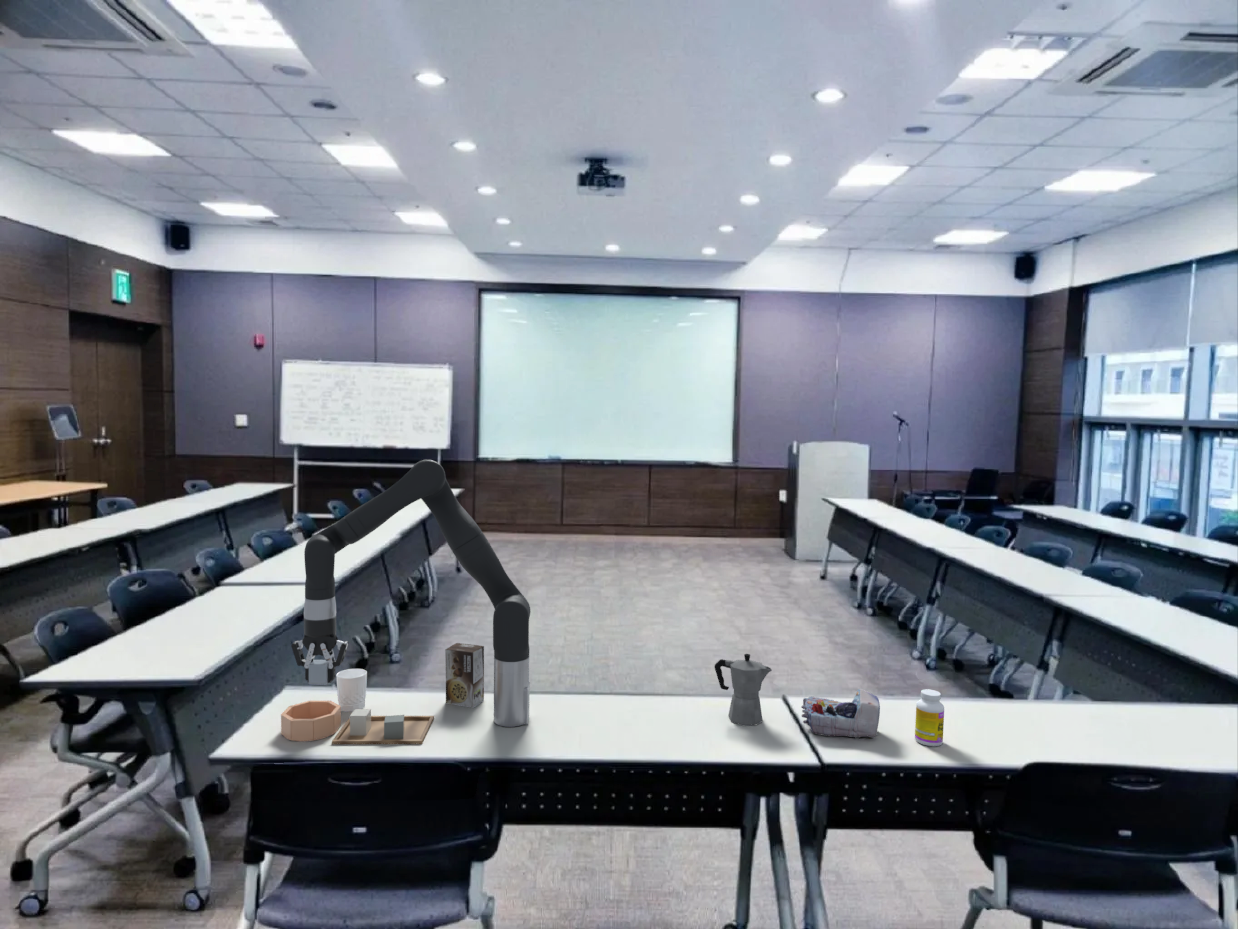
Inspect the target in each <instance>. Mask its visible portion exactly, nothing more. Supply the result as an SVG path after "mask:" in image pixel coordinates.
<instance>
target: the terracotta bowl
mask: <svg viewBox="0 0 1238 929" xmlns="http://www.w3.org/2000/svg"><path fill="white" fill-rule="evenodd" d="M341 726H342V711H341V706H340V705H339V703H337V702H336V703H335V701H332V700H307V701H303V702H300V703H295V704H292V705H289V706H288V707H287V708H286V709H285V710H284V711H282V712H281V714H280V732H281V733H280V734H281V735H282V736H283V737H284V738H285V739H286V740H289V741H291V742H311V741H318V740H322V739H325V738H328V737H331V736H333V735H335V734H336V732H339V730H340V729H339V728H340V727H341Z"/></svg>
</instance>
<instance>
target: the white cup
mask: <svg viewBox="0 0 1238 929" xmlns="http://www.w3.org/2000/svg"><path fill="white" fill-rule="evenodd" d="M335 679H336V690H337V693H336V694H337V704H338V705H340V706H341V712H346V713H352V712H353V711H354V710H355V709H365V707H366V698H367V697H366V696H367V681H368V680H367V679H368V671H367V670H365V669H363V668H348V669H344V670H343V669H342V670H340V671H338V672H337V673H335Z"/></svg>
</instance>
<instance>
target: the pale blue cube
mask: <svg viewBox="0 0 1238 929" xmlns="http://www.w3.org/2000/svg"><path fill="white" fill-rule="evenodd" d="M328 668H329V667H328V664H327V661H326V660H325V659H314V660H313V661H312V662H311V663H310V664H309V683H308V685H319V686H320V685H323V686H324V685H325V686H326V685H328V684H329V683H328Z"/></svg>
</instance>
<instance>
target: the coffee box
mask: <svg viewBox="0 0 1238 929" xmlns="http://www.w3.org/2000/svg"><path fill="white" fill-rule="evenodd" d="M444 652H445V655H444V656H445V704H448V705H453V706H454V705H455V706H460V707H461V706H462V707H468V708H475V707H477V706H478V705H480V704H481V703H483V702H484V701H485V646H484V645H477V644H471V643H470V644H468V643H460V642H456V643H454V644H452V645H450V646H449V647H447V648H446V649H445V650H444Z"/></svg>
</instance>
